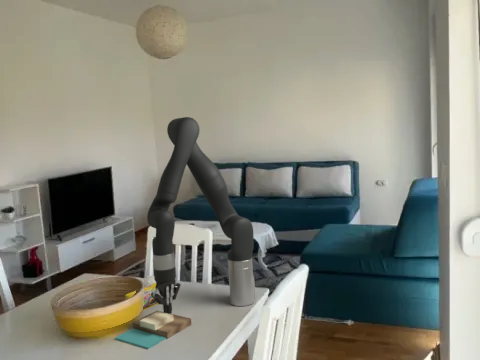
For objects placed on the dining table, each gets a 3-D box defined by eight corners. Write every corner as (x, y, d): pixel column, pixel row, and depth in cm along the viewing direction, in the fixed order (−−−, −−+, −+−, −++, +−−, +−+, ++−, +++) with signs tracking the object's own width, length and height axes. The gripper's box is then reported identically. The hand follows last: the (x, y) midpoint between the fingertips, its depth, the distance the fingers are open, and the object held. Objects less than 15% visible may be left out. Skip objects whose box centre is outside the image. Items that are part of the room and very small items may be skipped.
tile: (158, 316, 169) (158, 311, 168) (173, 320, 165) (173, 314, 164) (140, 326, 161) (139, 320, 161) (155, 330, 157) (154, 324, 157)
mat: (133, 329, 164) (133, 328, 164) (165, 338, 156) (165, 337, 156) (115, 339, 158) (115, 337, 158) (148, 349, 149) (148, 347, 149)
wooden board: (157, 316, 175) (157, 310, 174) (191, 324, 166) (190, 318, 165) (133, 329, 165) (132, 322, 165) (167, 338, 156) (167, 332, 156)
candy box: (129, 317, 175) (128, 295, 174) (126, 316, 177) (124, 294, 176) (162, 302, 188) (160, 282, 187) (158, 301, 189) (156, 281, 188)
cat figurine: (156, 277, 189) (153, 268, 200) (134, 295, 187) (133, 284, 199) (169, 294, 191) (166, 283, 203) (148, 311, 190) (146, 299, 201)
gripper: (158, 272, 158) (162, 323, 160) (185, 261, 169) (188, 309, 171) (142, 269, 162) (146, 318, 165) (169, 259, 173) (172, 305, 175)
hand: (168, 313), depth 168 cm, fingers closed
